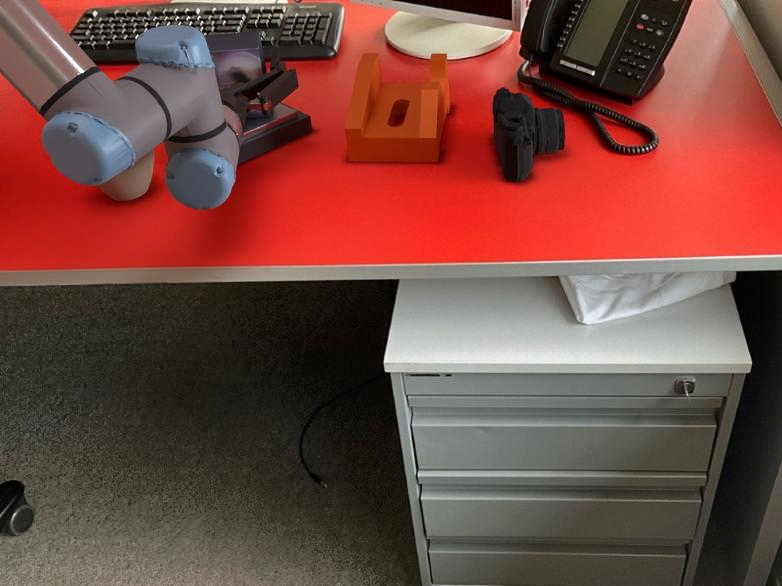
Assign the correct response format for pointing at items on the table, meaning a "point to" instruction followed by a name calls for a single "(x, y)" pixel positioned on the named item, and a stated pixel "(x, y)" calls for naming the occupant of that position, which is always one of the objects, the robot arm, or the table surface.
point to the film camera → (524, 132)
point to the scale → (273, 131)
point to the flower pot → (131, 180)
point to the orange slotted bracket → (387, 100)
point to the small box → (237, 60)
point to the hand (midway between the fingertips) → (229, 60)
